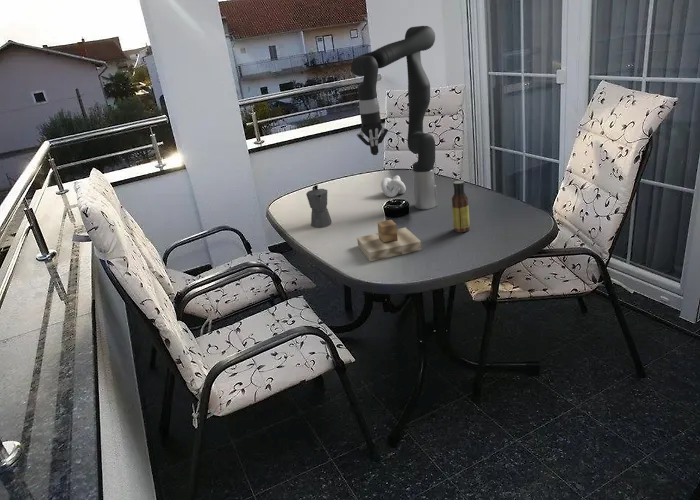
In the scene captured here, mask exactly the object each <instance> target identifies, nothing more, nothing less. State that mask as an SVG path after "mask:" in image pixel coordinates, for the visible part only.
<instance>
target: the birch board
mask: <svg viewBox="0 0 700 500" xmlns="http://www.w3.org/2000/svg"><path fill="white" fill-rule="evenodd" d="M397 238H398V240H397V241H393V242H388V243H383V242H382V241H381V240H380V239H379V234H378V232H377V233H373V234H368V235H363V236H359V237H356V241H357V246H358V248H359V249H360V250H361V252H362V253H363V254H364V256H365V257H366V258H367V260H368V261H369V262H374V261H379V260H382V259H388V258H392V257H397V256H400V255H401V256H402V255H405V254H410V253H414V252H420V251H422V241H421V240H420V239H419V238H418V237H417V236H416V235H414V234H413V232H411V231H410V230H409V229H408V228H407V227H406V226H405V227H401V228H397Z"/></svg>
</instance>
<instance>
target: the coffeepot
mask: <svg viewBox="0 0 700 500" xmlns="http://www.w3.org/2000/svg"><path fill="white" fill-rule="evenodd" d="M305 194H306V197H307V198H306V199H307V202H308V204H309V207H310V208H311V215H310V216H311V218H310V219H311V221H310V222H311V223H310V225H311V226H312V227H313V228H315V229H317V228H318V229H320V228H326V227H329V226H330V225H331V224H332V223H333V222H332V218H331V216H330V212H329V209H328V207H327V206H328V189H325V188H318V185H317V184H316V185H314V186H312V189H311V190H308V191H307V192H306V193H305Z"/></svg>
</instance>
